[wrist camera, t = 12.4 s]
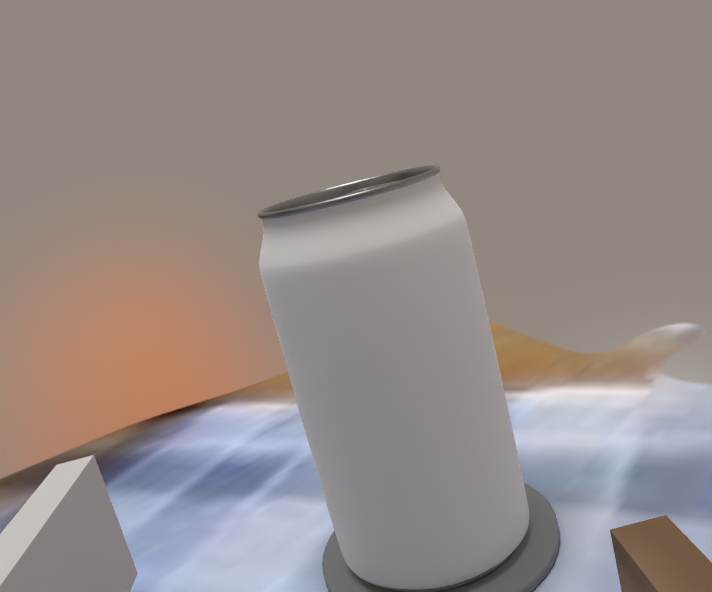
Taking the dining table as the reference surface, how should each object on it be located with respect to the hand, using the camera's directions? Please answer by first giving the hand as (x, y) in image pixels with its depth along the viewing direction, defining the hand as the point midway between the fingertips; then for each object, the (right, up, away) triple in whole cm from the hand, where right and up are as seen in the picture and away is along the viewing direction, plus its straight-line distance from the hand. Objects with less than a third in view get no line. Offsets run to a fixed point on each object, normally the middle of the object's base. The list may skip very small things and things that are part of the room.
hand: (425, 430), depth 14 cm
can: (+1, -6, +9) cm, 11 cm away
